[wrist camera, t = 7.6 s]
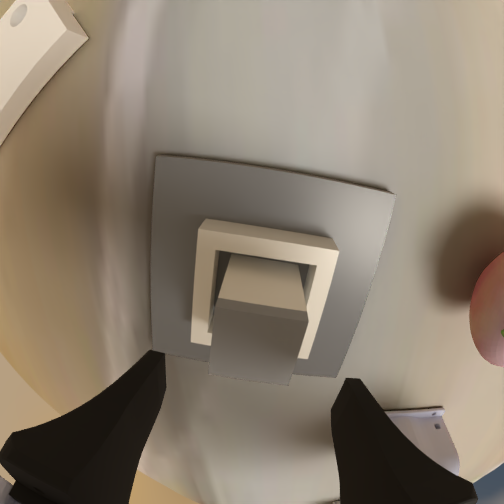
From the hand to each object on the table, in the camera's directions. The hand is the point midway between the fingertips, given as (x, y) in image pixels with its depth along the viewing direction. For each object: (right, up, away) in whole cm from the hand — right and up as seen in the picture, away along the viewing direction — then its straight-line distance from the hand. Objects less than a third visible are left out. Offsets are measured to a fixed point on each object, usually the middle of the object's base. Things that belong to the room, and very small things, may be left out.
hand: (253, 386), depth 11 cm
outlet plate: (+1, +4, +9) cm, 9 cm away
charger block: (0, +3, +8) cm, 8 cm away
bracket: (-18, +19, +4) cm, 26 cm away
